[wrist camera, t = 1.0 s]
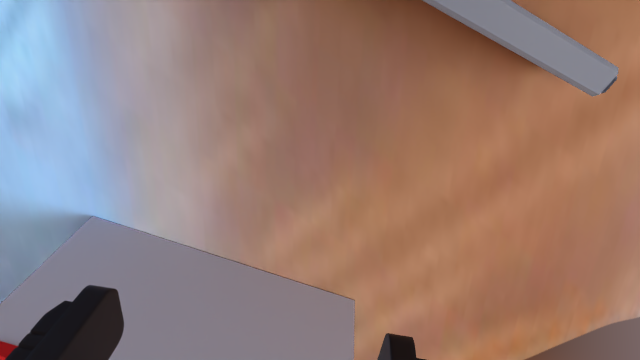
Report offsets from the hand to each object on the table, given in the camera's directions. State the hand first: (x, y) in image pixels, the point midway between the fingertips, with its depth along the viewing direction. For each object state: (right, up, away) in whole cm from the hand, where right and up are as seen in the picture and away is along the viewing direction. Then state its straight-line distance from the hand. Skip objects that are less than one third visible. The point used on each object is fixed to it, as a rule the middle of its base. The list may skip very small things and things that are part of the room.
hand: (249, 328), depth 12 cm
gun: (+14, +20, +21) cm, 32 cm away
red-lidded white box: (-13, -14, +43) cm, 47 cm away
